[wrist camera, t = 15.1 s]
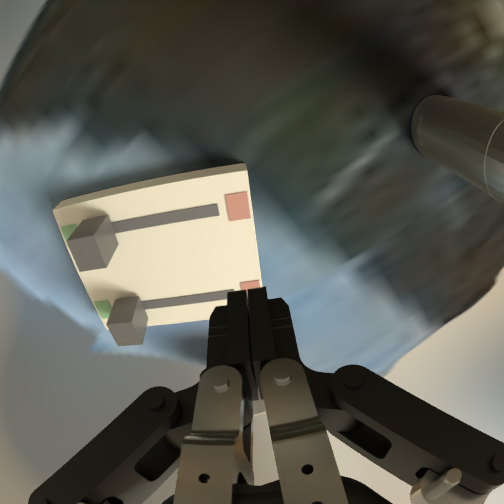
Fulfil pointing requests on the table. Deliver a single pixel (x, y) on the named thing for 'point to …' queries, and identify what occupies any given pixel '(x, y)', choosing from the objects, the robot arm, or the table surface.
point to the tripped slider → (93, 243)
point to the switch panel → (172, 243)
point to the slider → (128, 321)
